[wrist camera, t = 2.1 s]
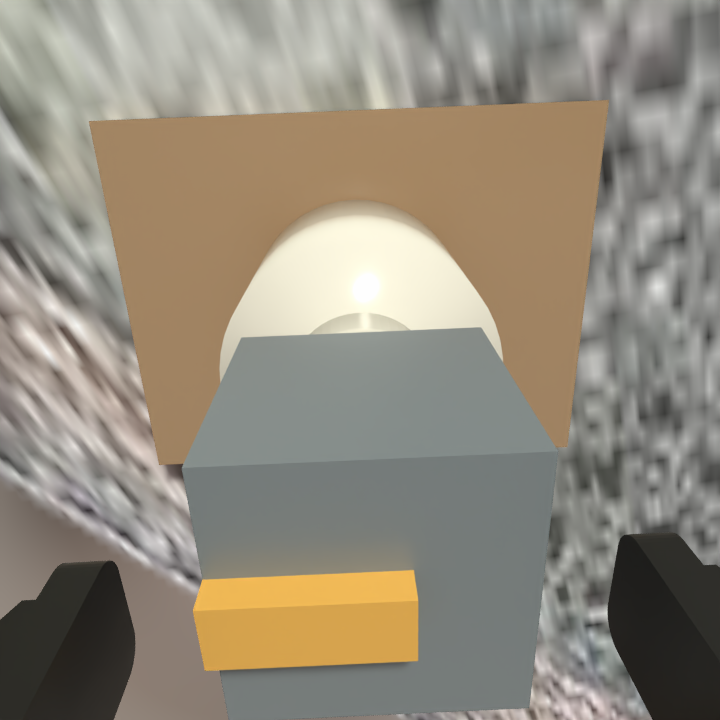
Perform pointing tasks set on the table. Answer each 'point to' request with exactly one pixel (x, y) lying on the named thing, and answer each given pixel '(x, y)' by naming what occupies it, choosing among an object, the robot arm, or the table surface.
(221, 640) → the grey cube with tab
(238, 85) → the table surface
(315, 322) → the board with white bottle
